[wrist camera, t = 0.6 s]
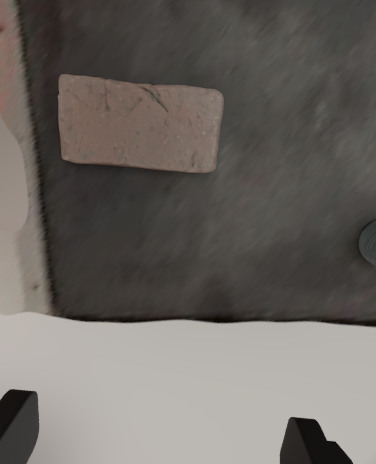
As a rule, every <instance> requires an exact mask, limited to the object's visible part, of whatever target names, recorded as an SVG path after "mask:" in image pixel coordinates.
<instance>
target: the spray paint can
mask: <svg viewBox="0 0 376 464" xmlns="http://www.w3.org/2000/svg"><path fill="white" fill-rule="evenodd" d="M359 250H360V253H361V254H362V256H363V257H364V258H365V259H366V260H367V261H368V262H370V263H371V264H373V265H375V266H376V220H374V221H372V222H371V223H369V224H368V225H367V226H366V227H365V228H364V230H363V231H362V233H361V235H360V238H359Z"/></svg>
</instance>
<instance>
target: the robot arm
mask: <svg viewBox="0 0 376 464" xmlns="http://www.w3.org/2000/svg"><path fill="white" fill-rule="evenodd" d="M38 433H39V413H38V396H37V393H36V392H35V391H25V390H15V389H11V390H9V391H8V392H7V393H6V394H5V395H4V396H3V397H2V399H1V400H0V464H26V463H27V461H28V459H29V457H30V456H31V454H32V452H33V449H34V447H35V445H36V441H37V438H38ZM280 464H353V462H352V461H351V459H350V458H349V457H348V456H347V455H346V453H345V452H344V451H343V450H342V449H341V448H340V446H339V445H338V444H337V443H336V442H333V441H327V440H326V438H325V436H324V433H323V431H322V429H321V427H320V425H319V423H318V422H317V421H316V420H315V419H306V418H296V417H291V418H290V419H289V421H288V424H287V428H286V432H285V436H284V440H283V444H282V447H281V451H280Z"/></svg>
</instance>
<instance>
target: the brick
mask: <svg viewBox="0 0 376 464" xmlns="http://www.w3.org/2000/svg"><path fill="white" fill-rule="evenodd" d="M59 92H60V93H59V95H58V117H59V130H60V141H61V156H62V158H63V159H64V160H67V161H70V162H73V163H79V164H101V165H113V166H125V167H136V168H145V169H154V170H165V171H180V172H190V173H210V172H212V171H213V170H215V169H216V165H217V155H216V154H217V152H218V149H219V146H218V143H219V138H220V125H221V121H222V115H223V106H224V99H223V96H222V94H221V93H220V92H219V91H218V90H215V89H204V88H200V87H191V86H185V85H162V84H159V85H154V86H152V85H151V84H134V83H130V82H124V81H116V80H112V79H108V80H106V79H103V78H99V77H89V76H75V75H68V74H61V76H60V78H59Z"/></svg>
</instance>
